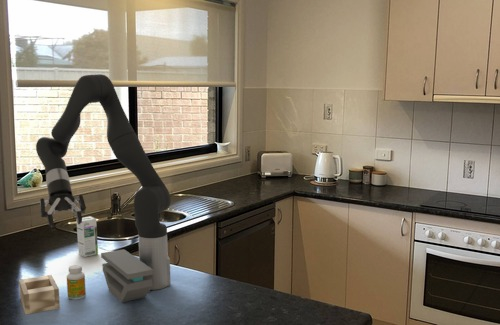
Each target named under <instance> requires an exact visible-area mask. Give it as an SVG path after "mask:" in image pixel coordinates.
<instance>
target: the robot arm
mask: <svg viewBox="0 0 500 325" xmlns="http://www.w3.org/2000/svg"><path fill="white" fill-rule="evenodd" d="M118 96H119V95H118V93H117V91H116V88H115V86H114V84H113V82H112V80H111V79H110V77H108V76H107V75H105V74H102V73H101V74H96V73H95V74H85V75H83V76H81V77H79V79H77V81H76V83H75V85H74V87H73V89H72V92H71V94H70V97H69V98H68V102H67V103H66V107H65V108H64V111H63V112H62V114H61V116H60V117H59V119H58V120H57V121H56V123H55V124H54V126H53V127H52V128H51V137H49V136H41V137H40V138H38V139H37V142H36V144H35V150H36V154H37V156H38V158H39V160H40V161H41V164H42V166H43V167H44V170H45V180H46V187H47V191H48V192H47V194H48V197H49V198H48V199H45V198H40V200H39V207H40V208H39V209H40V217H41V218H46V219H47V224H48V227H50V228H54V225H55V224H54V217H53V215H54V214H56V212H57V211H58V212H62V211H68V210H69V211H70V212H71V213H74V214H75V216H76V219H77V221H76V223H77V222H78V224H80V223H81V222H82V218H83V215H82V214H85V213H86V209H87V207H86V206H87V205H86V203H85V199H84V196H83V195H82V194H79V196H74V194H73V190H72V185H71V181H70V176H69V174H68V170H67V164H66V161H65V160H64V159H63V158H64V157H65V156H66V155H67V153H68V149H69V145H70V142H71V139H73V137H74V135H75V134H76V133H77V131H78V130H79V127H80V125H81V114H82V111H83V110H84V109H85V108H86V107H87V106H88V105H89V104H93V103H94V104H96V103H99V104H100V105H101V107H102V110H103V111H104V113H105V116H106V119H107V120H106V122H107V124H106V138H107V142H108V145H109V147H110V149H111V150H112V152H113V153H112V154H114V156H115V158H116V159H117V161H118V162H120V163H121V164H122V166H123V167H125V168H126V169H127V170H129V171H130V173H132V174H133V175H134V176H135V177H136V179H137V180H138V181H139V183H140V186H142V187H141V188H139V189H138V190H137V191H136V192H135V195H134V197H133V210H134V212H133V213H134V224H135V227H136V229H137V234H138V236H137V237H138V255H139V256H138V257H139V258H138V259H139V260H140V261H142V262H143V263H144V264H146V265H147V266H149V267H150V268H152V269H153V275H148V277H150V278H151V279H152V287H151V289H150V290H149V291H156V290H161V289H165V288H167V287H169V286H171V281H172V280H171V258H170V257H169V255H168V252H169V250H168V227H167V225H166V224H165V223H161V222H160V216H159V215H160V213H162V212H165V211H167V210H168V209H169V208H170V206H171V204H172V203H171V201H172V200H171V194H170V191H169V190H168V188H167V187H166V185H165V182H163V180H162V179H161V177H160V175H159V174H158V173H157V171H156V170H155V168H154V166H153V164H152V162H151V161H150V158H149V157H148V154H147V153H146V151H145V150H144V147H143V145H142V144H141V142H140V139H139V138H138V136H137V134H136V132H135V130H134V129H133V126H132V125H131V123H130V121H129V118H128V117H127V114H126V112H125V111H124V110H125V109H124V108H123V106H122V103H121V101H120V99H119V97H118ZM75 202H76V203H75ZM77 204H79V206H78V205H77ZM47 205H49V206H50V208H49V210H48V211H46V207H47Z"/></svg>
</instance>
